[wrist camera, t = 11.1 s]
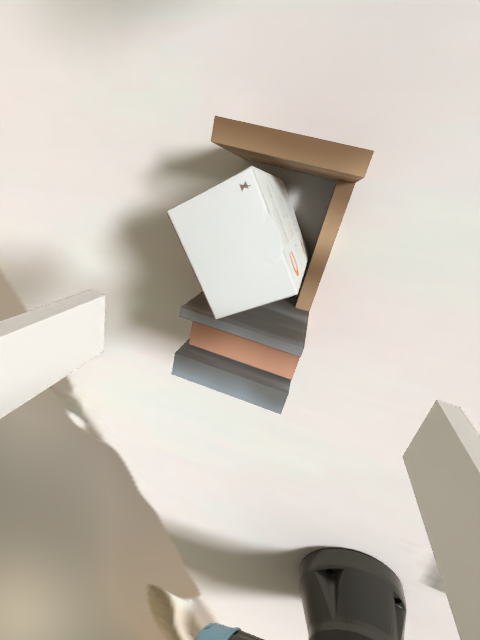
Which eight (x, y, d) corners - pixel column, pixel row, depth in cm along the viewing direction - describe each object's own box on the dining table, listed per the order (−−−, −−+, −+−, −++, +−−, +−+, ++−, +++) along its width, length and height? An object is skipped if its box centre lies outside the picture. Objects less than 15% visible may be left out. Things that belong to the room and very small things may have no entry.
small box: (225, 205, 30) (162, 208, 19) (283, 177, 28) (253, 161, 16) (254, 278, 32) (214, 322, 21) (310, 257, 30) (301, 294, 18)
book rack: (294, 346, 34) (280, 414, 23) (210, 319, 36) (161, 370, 25) (358, 166, 26) (382, 142, 15) (247, 140, 28) (197, 102, 17)
